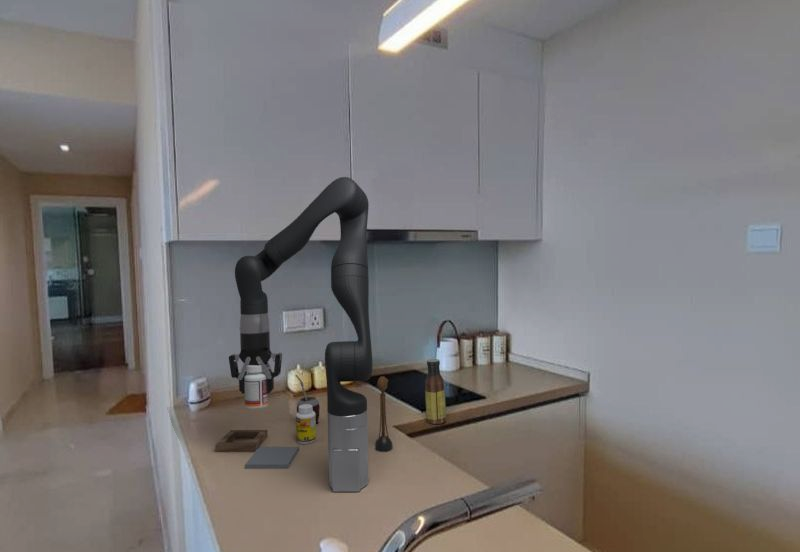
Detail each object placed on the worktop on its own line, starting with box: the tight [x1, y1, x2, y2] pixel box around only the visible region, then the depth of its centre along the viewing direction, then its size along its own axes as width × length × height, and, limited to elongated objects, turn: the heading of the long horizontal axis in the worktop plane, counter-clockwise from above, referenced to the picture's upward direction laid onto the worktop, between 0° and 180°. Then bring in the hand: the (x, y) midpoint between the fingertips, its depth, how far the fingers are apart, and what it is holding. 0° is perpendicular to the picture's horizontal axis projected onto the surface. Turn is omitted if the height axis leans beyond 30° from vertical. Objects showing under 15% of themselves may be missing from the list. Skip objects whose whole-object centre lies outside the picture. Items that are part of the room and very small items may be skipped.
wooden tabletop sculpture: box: [374, 376, 394, 453], centre depth 129 cm, size 6×5×20 cm
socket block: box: [214, 429, 268, 453], centre depth 133 cm, size 11×11×2 cm
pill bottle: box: [244, 365, 270, 410], centre depth 125 cm, size 6×6×11 cm
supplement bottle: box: [295, 404, 317, 445], centre depth 135 cm, size 6×6×10 cm
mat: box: [244, 446, 300, 469], centre depth 123 cm, size 11×11×1 cm
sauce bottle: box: [424, 358, 447, 425], centre depth 148 cm, size 6×6×20 cm
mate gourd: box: [295, 374, 320, 425], centre depth 149 cm, size 8×8×15 cm
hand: (256, 392), depth 125 cm, fingers closed on pill bottle, 6 cm apart
